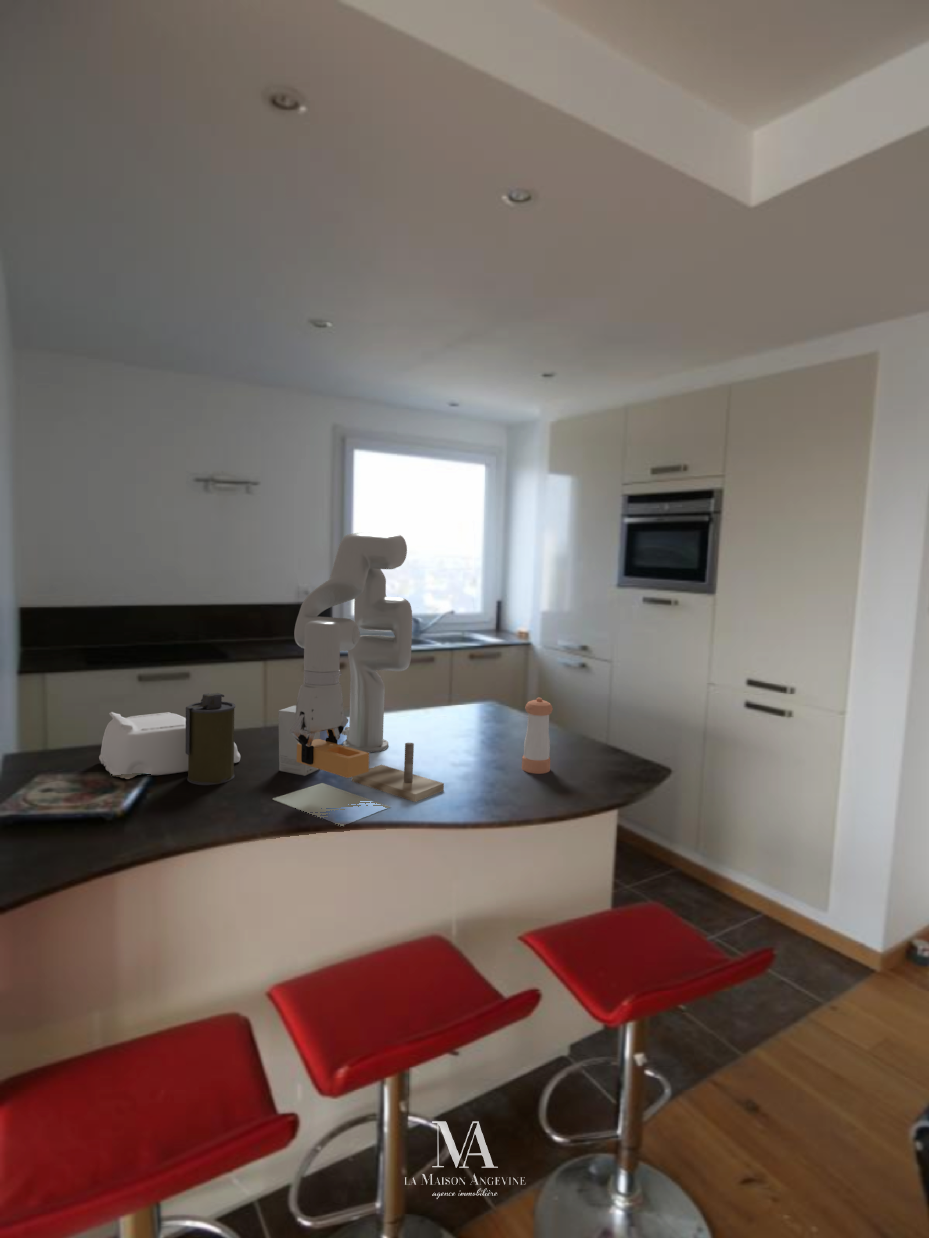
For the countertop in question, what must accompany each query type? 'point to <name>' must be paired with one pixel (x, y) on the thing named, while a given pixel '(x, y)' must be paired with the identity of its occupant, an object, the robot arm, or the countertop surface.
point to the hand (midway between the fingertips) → (319, 759)
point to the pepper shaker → (537, 737)
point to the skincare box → (291, 744)
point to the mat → (322, 799)
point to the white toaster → (146, 744)
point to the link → (337, 758)
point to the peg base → (400, 780)
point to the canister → (210, 740)
